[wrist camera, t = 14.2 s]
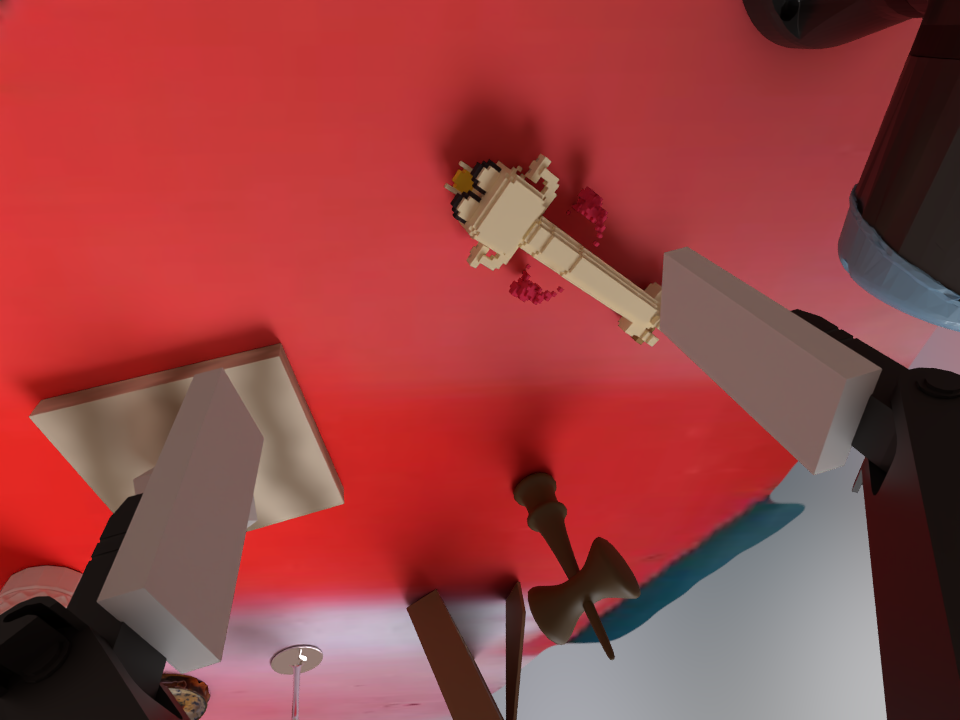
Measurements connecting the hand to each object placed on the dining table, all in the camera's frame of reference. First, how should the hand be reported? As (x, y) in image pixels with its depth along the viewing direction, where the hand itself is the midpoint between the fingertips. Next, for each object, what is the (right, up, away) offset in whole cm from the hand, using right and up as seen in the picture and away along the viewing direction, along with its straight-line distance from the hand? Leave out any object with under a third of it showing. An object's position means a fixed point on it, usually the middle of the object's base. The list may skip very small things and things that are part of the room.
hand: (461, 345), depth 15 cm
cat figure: (+8, +9, +28) cm, 31 cm away
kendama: (+7, -15, +43) cm, 46 cm away
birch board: (-23, -9, +29) cm, 38 cm away
